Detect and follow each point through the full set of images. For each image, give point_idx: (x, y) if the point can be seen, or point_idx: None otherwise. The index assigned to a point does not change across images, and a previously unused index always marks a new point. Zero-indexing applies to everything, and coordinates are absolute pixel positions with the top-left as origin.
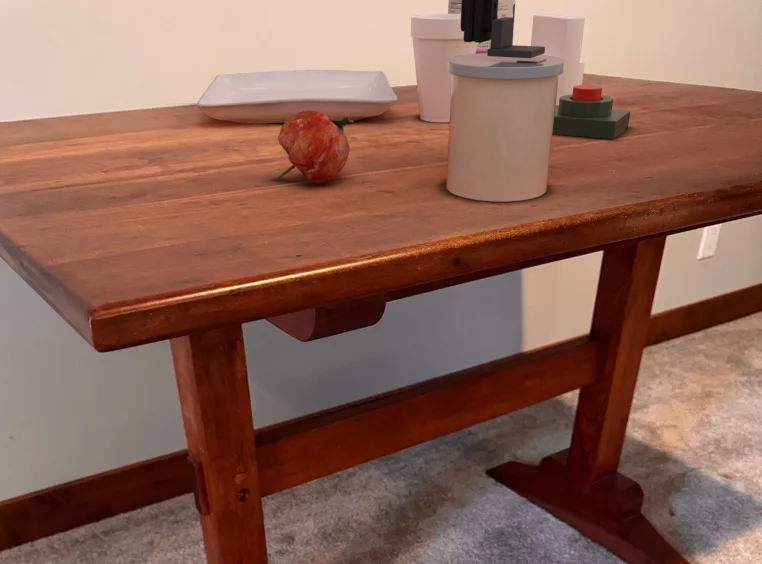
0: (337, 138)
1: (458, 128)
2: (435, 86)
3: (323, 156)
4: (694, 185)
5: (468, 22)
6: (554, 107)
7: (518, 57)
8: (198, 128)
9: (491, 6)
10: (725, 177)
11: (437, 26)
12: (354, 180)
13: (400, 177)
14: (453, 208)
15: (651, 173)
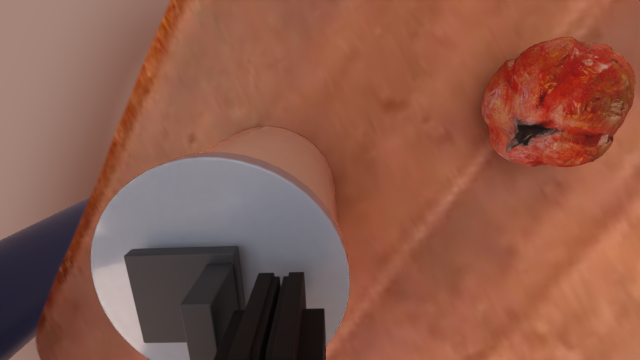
0: (508, 101)
1: (291, 153)
2: None
3: (508, 65)
4: (79, 308)
5: (286, 297)
6: None
7: (161, 248)
8: None
9: (217, 353)
10: (67, 352)
11: None
12: (464, 138)
13: (410, 183)
14: (274, 76)
15: None
